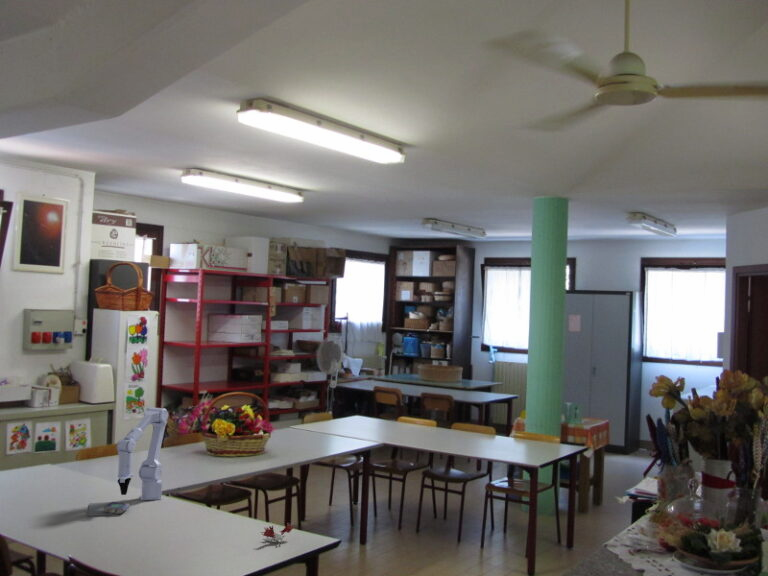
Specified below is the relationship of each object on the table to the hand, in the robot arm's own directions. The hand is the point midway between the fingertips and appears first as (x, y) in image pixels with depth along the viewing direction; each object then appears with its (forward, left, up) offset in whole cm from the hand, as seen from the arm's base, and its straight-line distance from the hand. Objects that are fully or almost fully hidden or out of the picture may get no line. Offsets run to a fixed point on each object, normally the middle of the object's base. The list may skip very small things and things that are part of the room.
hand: (123, 494), depth 336 cm
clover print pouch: (+1, +2, -4) cm, 5 cm away
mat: (+9, 0, -6) cm, 11 cm away
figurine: (-58, +63, -7) cm, 86 cm away
